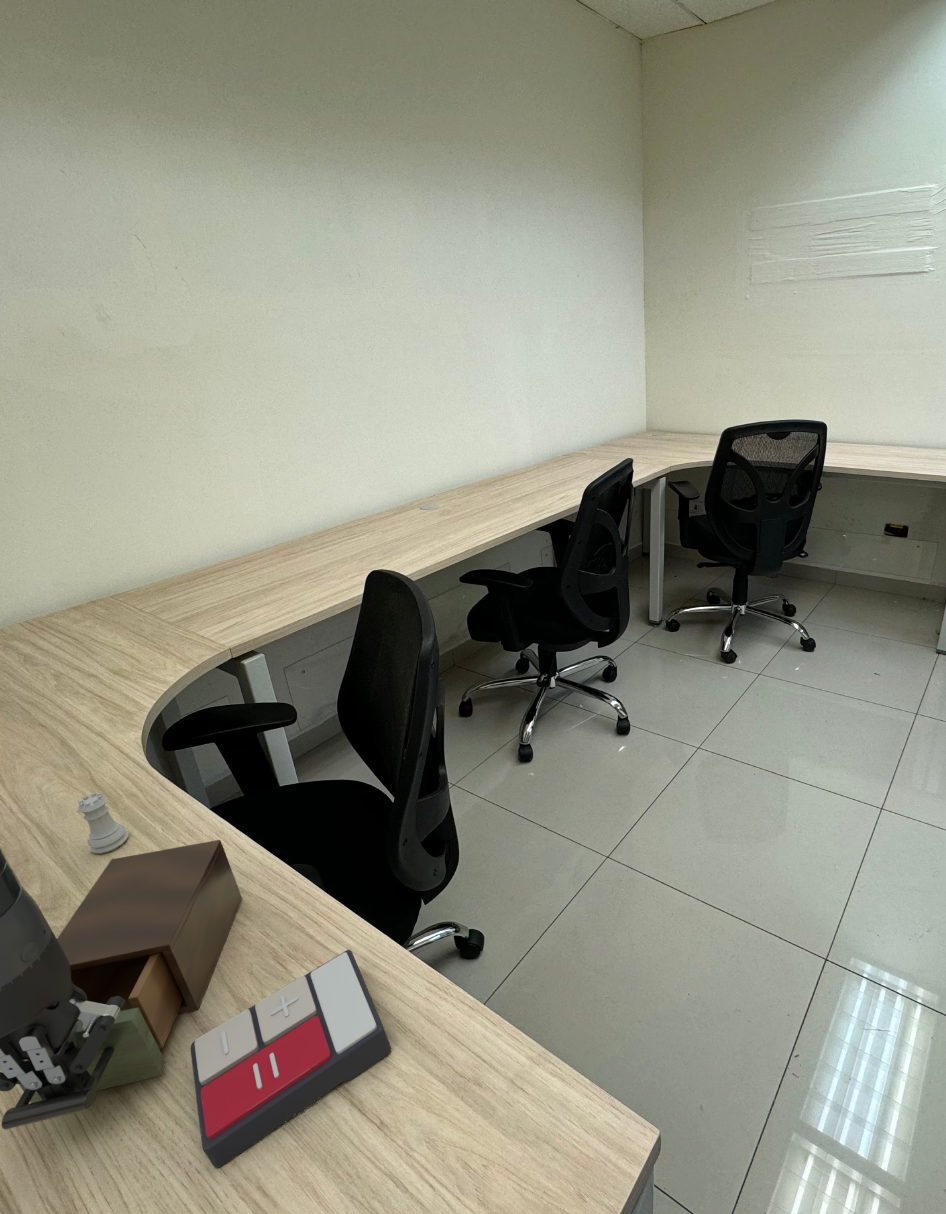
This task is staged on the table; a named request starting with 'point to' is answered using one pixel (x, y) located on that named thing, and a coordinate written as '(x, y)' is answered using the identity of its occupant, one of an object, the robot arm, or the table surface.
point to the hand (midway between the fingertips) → (73, 1099)
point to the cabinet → (159, 914)
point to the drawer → (115, 1034)
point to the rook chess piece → (101, 825)
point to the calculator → (284, 1056)
